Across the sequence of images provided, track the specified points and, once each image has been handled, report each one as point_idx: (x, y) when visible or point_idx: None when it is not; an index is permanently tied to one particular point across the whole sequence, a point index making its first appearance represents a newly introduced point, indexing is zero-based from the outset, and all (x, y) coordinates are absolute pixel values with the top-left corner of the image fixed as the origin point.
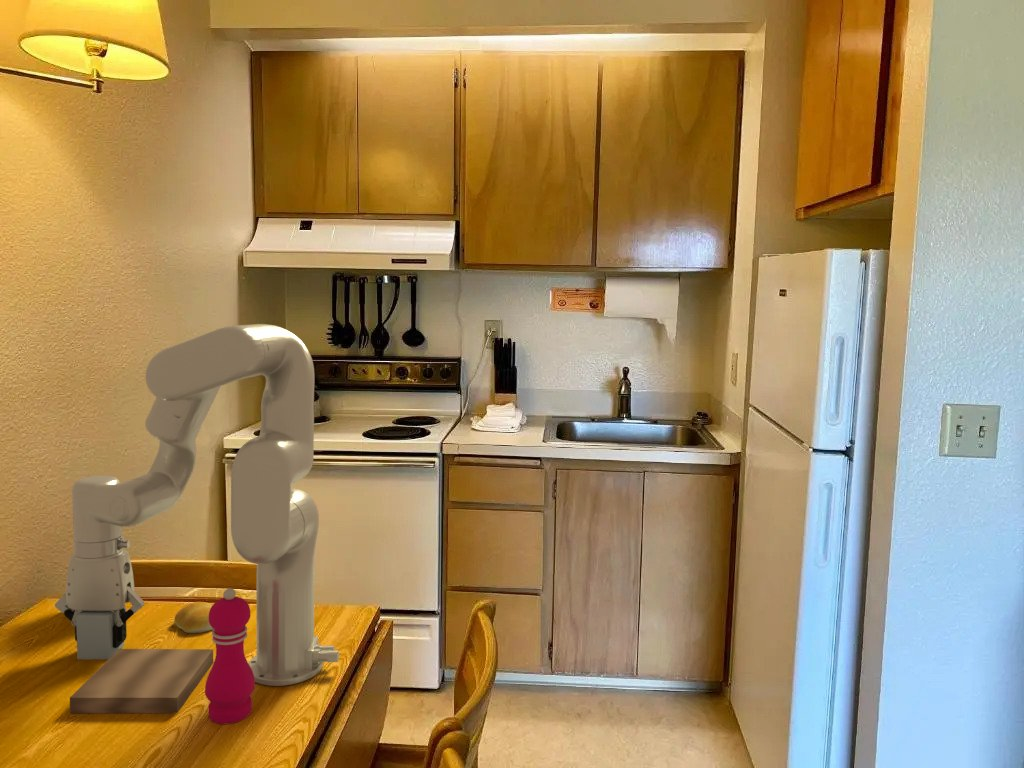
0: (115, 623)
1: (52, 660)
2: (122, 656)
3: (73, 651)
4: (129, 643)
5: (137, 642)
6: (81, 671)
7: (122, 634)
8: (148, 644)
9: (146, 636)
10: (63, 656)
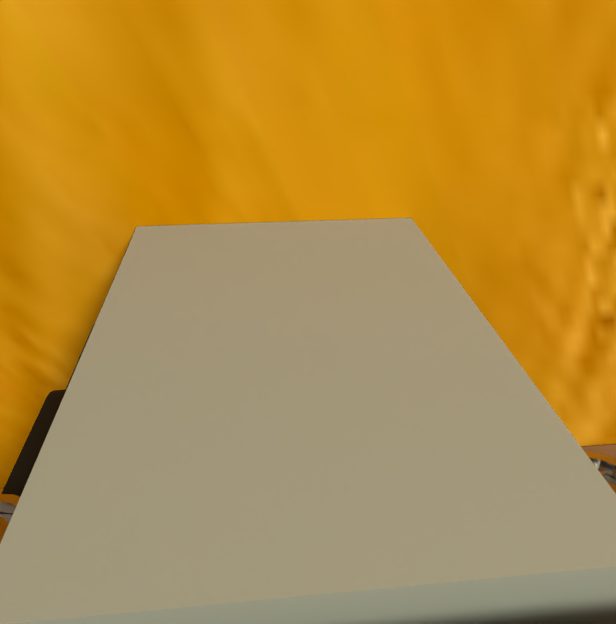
0: None
1: (5, 463)
2: None
3: (52, 343)
4: (445, 187)
5: (509, 165)
6: None
7: None
8: (608, 200)
9: (565, 26)
10: (37, 413)
